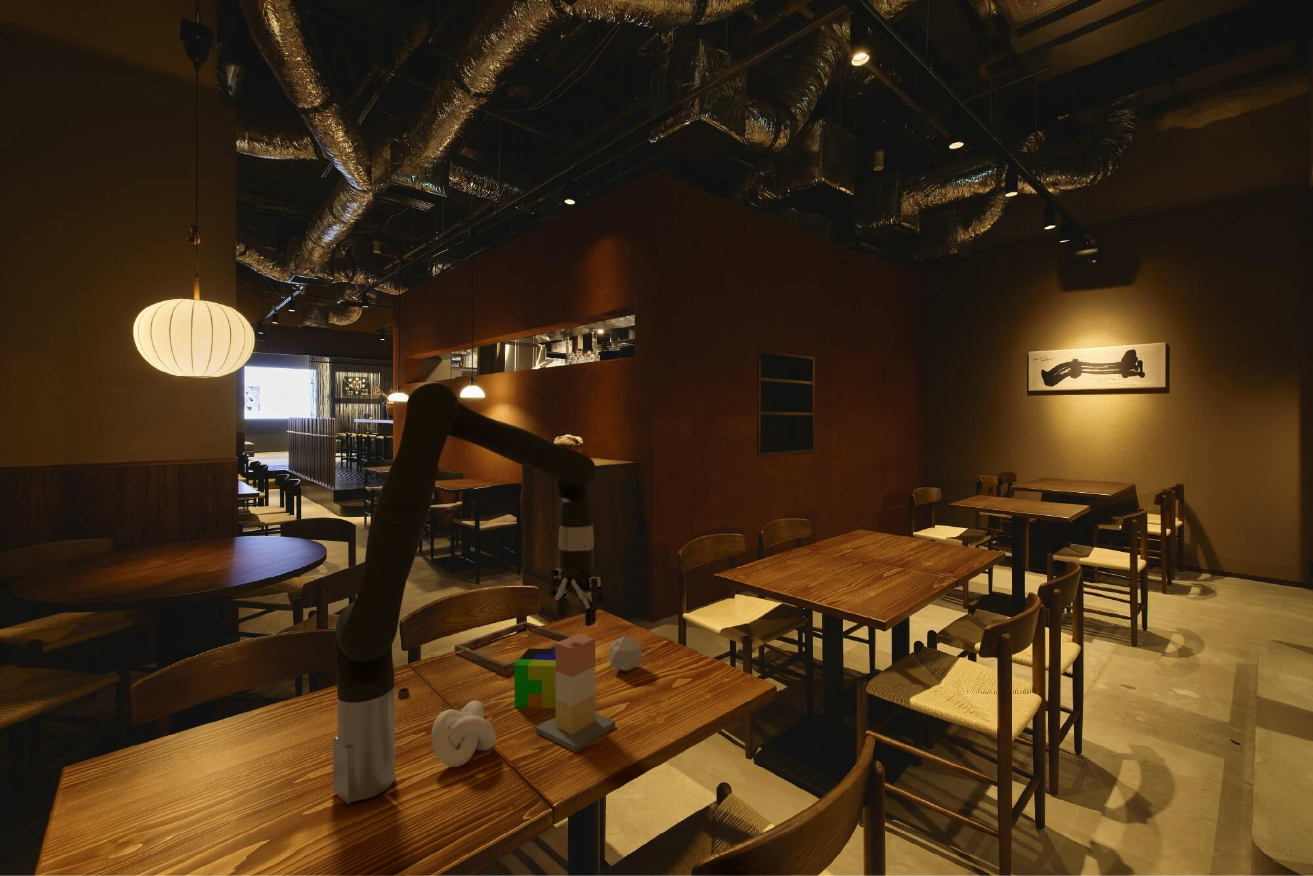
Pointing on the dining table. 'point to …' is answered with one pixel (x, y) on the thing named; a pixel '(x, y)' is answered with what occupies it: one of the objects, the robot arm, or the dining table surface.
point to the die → (625, 653)
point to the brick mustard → (575, 715)
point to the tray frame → (488, 661)
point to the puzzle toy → (535, 679)
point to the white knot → (461, 734)
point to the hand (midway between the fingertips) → (575, 620)
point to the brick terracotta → (575, 655)
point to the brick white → (575, 686)
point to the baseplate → (579, 737)
